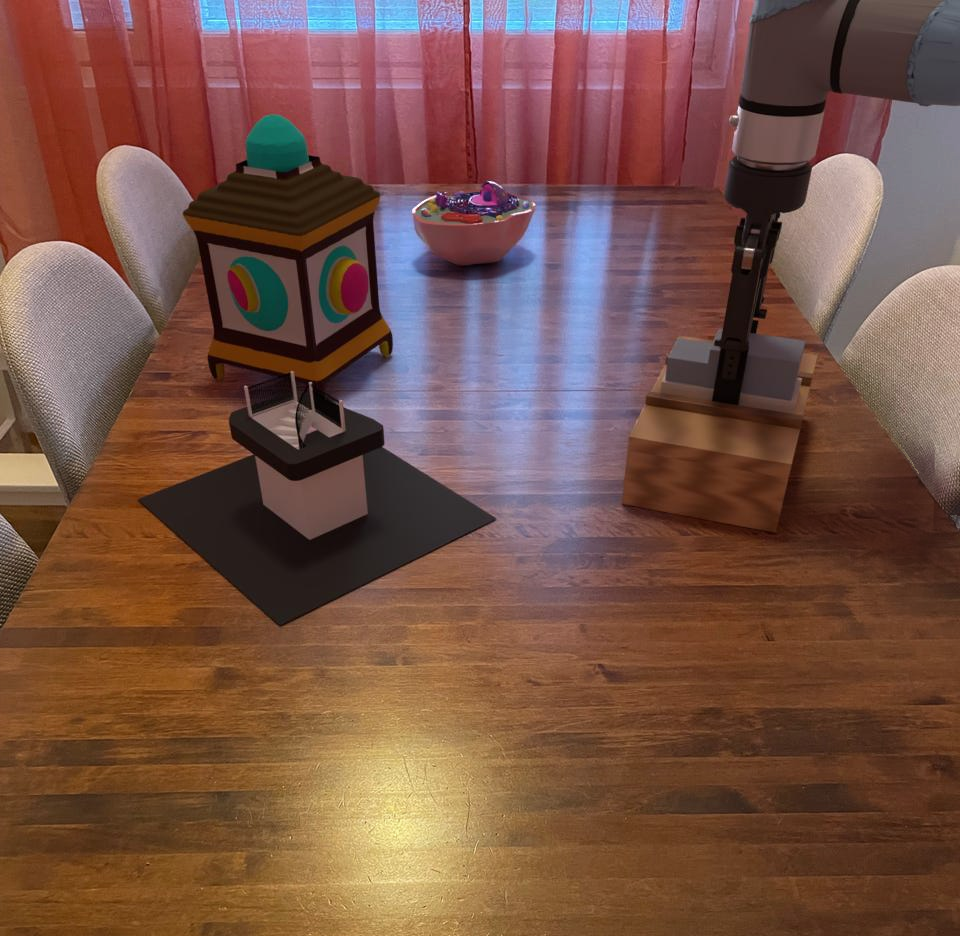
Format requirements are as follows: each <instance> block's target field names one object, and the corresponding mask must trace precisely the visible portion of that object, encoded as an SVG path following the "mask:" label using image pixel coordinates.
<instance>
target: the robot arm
mask: <svg viewBox="0 0 960 936" xmlns="http://www.w3.org/2000/svg"><path fill="white" fill-rule="evenodd" d="M748 24H749V29H748V36H747V43H746V49H745V57H744V66H743V72H742V78H741V79H742V80H741V86H740V94H739V97H738V98H739V99H738V107H737V114H732V115H730V118H729V119H728V124H729V126H730V127H732V128H736V130H735V131H734V132H733V139H732V145H731V151H732V153H733V155H735V156H733V157H732V158H731V159H730V160H729V161H728V167H727V173H726V180H725V186H724V188H725V189H724V194H723V197H724V200H725V202H726V203H727V204H728V205H730V206H731V207H733V208H735V209H738V210H739V209H741V210H742V211H743V212H745V214H746V216H745V217H741V218H740V221H739V225H737V226H736V229H735V233H734V234H735V235H734V239H733V244H734V246H735V247H734V250H733V251H734V252H733V258H732V263H731V269H730V272H731V279H730V285H729V291H728V296H727V303H726V307H725V313H724V319H723V325H722V329H723V331H722V336H721V339H720V340H717V339H716V340H715V342H714V346H717V347H720V348H721V349H720V355H719V361H718V367H717V373H716V379H715V385H714V391H713V397H712V401H714V402H721V403H727V404H733V405H738V404H739V399H740V393H741V388H742V383H743V377H744V372H745V367H746V361H747V356H748V351H749V341H748V340H749V335H750V333H754V334H757V332H758V327H759V322H760V321H759V320H757V319H760V320H761V319H762V320H766V317H767V314H768V309H766V308H761V307H762V305H763V304H764V303H765V297H764V295H765V291H766V286H767V285H766V284H767V281H768V280H767V279H768V273H769V269H770V265H771V264H772V263H773V261H774V256H775V251H776V247H777V244H778V242H779V239H780V235H781V232H782V227H783V221H779V219H780V218H781V214H787V213H788V214H789V213H792V212H795V211H797V210H799V209H801V208H802V207H803V206H804V205H805V203H806V200H807V196H808V191H809V185H810V181H811V177H812V172H813V171H812V170H813V166H812V165H811V163H810V161H811V160H812V159H814V157H816V154H817V149H818V146H819V140H820V135H821V131H822V126H823V121H824V116H825V111H826V109H825V108H826V102H827V97H828V94H829V93H830V92H831V93H835V94H842V95H843V94H846V95H852V96H853V95H855V96H859V97H860V96H862V97H869V98H876V99H882V100H891V101H896V102H897V101H898V102H904V103H912V104H916V105H918V106H920V107H926V108H927V107H930V106H946V107H947V106H948V107H960V0H754V2H753V7H752V10H751V15H750V16H749V20H748Z"/></svg>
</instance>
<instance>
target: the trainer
mask: <svg viewBox="0 0 960 936" xmlns="http://www.w3.org/2000/svg"><path fill="white" fill-rule="evenodd" d="M722 331H723V328H718V330H717V333H716V334H715V337H714V339H713V341H714V342H715V340H716V339H717V340H720V339H721V336H722ZM748 341H749V351H748V356H747V361H746V367H745V372H744V377H743V383H742V388H741V393H740V399H739V404H738V405H740V406H746V407H753V408H759V409H765V410H772V411H778V412H784V413H791V414H793V413H794V410H795V406H796V402H797V398H798V394H799V390H800V386H801V381H802V378H797V377H798V373H799V368H800V364H801V359H802V355H803V353H804V350H805V346H806V340H803V339H796V338H789V337H783V336H782V337H781V336H776V335H768V334H762V333H761V334H760V333H756V334H754V333H750V335H749V340H748ZM714 342H713V343H707V342H700V341H693V340H686V339H679V337H678V338H676V341H675V343H674V345H673V347H672V349H671V351H670V352H669V353H670V355H669V357H668V361H667V369H666V374H665V376H664V378H663V380H662V382H661V388H660V393H664V394H670V395H676V396H683V397H689V398H695V399H702V400H708V401H712V397H713V391H714V385H715V379H716V373H717V367H718V361H719V355H720V349H721V348H720V347H717V346H714Z"/></svg>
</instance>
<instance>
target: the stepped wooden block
mask: <svg viewBox="0 0 960 936" xmlns="http://www.w3.org/2000/svg"><path fill="white" fill-rule="evenodd" d="M678 338H679V339H686V340H693V341H700V342H707V343H713V342H714V339H713V340H712V339H707V338H706V339H705V338H699V337H692V336H684V335H679V337H678ZM670 353H671V352H667V354H666V356H665V361H664V362H665V363H664V366H663V368H662V370H661V372H660V373H659V376H658V378H657V380H656V382H655V383H654V386H653V388H652V390H648V392H647V394H646V395H645V401H644V406H643V408H642V410H641V411H640V414H639V416H638V417H637V420H636V421H635V423H634V426H633V428H632V429H631V431H630V433H629V435H628V441H627V451H626V458H625V459H626V461H625V469H624V478H623V486H622V487H623V488H622V496H621V504H622V505H626V506H632V507H637V508H641V509H646V510H647V509H648V510H653V511H658V512H663V513H668V514H672V515H673V514H674V515H678V516H684V517H688V518H695V519H700V520H704V521H710V522H715V523H721V524H727V525H732V526H737V527H743V528H749V529H753V530H758V531H763V532H769V533H773V534H774V533H776V532H777V529H778V524H779V520H780V516H781V513H782V508H783V504H784V500H785V496H786V491H787V487H788V483H789V478H790V474H791V470H792V466H793V461H794V457H795V453H796V449H797V444H798V440H799V436H800V432H801V428H802V424H803V420H804V416H805V412H806V407H807V403H808V398H809V394H810V390H811V386H812V382H813V377H814V373H815V370H816V365H817V359H818V354H812V353H806V352H803V355H802V359H801V364H800V368H799V373H798V377H797V378H802V381H801V386H800V390H799V394H798V398H797V402H796V406H795V410H794V413H793V414H791V413H784V412H778V411H772V410H765V409H759V408H753V407H746V406H740V405H733V404H727V403H721V402H714V401H708V400H702V399H695V398H689V397H683V396H676V395H670V394H664V393H660V388H661V382H662V380H663V378H664V376H665V374H666V369H667V361H668V357H669V355H670Z"/></svg>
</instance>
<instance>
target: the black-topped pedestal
mask: <svg viewBox="0 0 960 936" xmlns="http://www.w3.org/2000/svg"><path fill="white" fill-rule="evenodd" d="M287 375H288V377H289V375H290V378H289V379H288V378H287V379H286V376H287ZM284 376H285V379H284ZM282 377H283V378H282ZM243 389H244V395H245V402H246V406H244V407H242V408H239V409H236V410H233V411H232V412H230V414H229V417H228V424H229V425H228V426H229V430H230V435H231V436H230V437H231V439H232V440H233V441H234V442H236V443H237V444H239V445H240V446H241V447H243V448H244V449H245V450H247V451H248V452H250V453H251V454H250V455H248V456H246V457H244V458H240V459H238V460H235V461H233V462H231V463H228V464H225V465H222V466H220V467H217V468H214V469H212V470H209V471H207V472H204V473H201V474H199V475H197V476H194V477H191V478H188V479H186V480H183V481H180V482H178V483H175V484H173V485H171V486H168V487H165V488H163V489H160V490H157V491H154V492H152V493H150V494H148V495H144V496H142V497H139V498H137V500H138V501H139V502H140V504H142V505H143V506H144V507H145V508H147V509H148V511H150V512H151V513H153V514H154V515H155V517H157V518H158V519H159V520H160V521H161V522H163V523H164V525H166V526H167V527H168V528H169V529H170V530H171V531H173V532H174V533H175V534H176V535H177V536H178V537H180V539H181V540H183V541H184V542H185V543H186V544H187V545H189V546H190V547H191V548H192V549H193V550H194V552H196V553H198V554H199V555H200V556H201V557H202V558H203V559H204V560H206V562H208V563H209V564H210V565H211V566H213V567H214V569H215V570H217V571H218V572H219V573H220V574H221V575H222V576H223V577H225V578H226V579H227V580H228V581H229V582H230V583H232V585H233V586H234V587H236V588H237V589H238V590H239V591H240V592H241V593H243V594H244V595H245V596H246V597H247V598H249V600H250V601H251V602H253V603H254V604H255V605H256V606H257V607H259V608H260V610H262V612H264V613H265V614H267V616H269V617H270V618H271V619H272V620H273V621H274V622H275V623H276V624H278V625H279V626H282V625H283V624H286V623H288V622H290V621H291V620H292V621H293V620H294V619H296V618H299V617H300V616H302V615H304V614H307V613H308V612H311V611H313V610H314V609H316V608H319V607H320V606H322V605H324V604H326V603H328V602H330V601H332V600H335V599H337V598H339V597H341V596H343V595H345V594H347V593H349V592H351V591H353V590H355V589H357V588H359V587H361V586H363V585H365V584H367V583H369V582H371V581H373V580H375V579H377V578H379V577H381V576H383V575H385V574H387V573H389V572H392V571H394V570H395V569H398V568H400V567H402V566H404V565H405V564H407V563H409V562H411V561H413V560H416V559H418V558H420V557H422V556H424V555H426V554H428V553H429V552H432V551H434V550H435V549H438V548H440V547H442V546H444V545H446V544H448V543H450V542H452V541H454V540H457V539H459V538H460V537H462V536H464V535H466V534H468V533H470V532H472V531H475V530H476V529H478V528H480V527H482V526H484V525H487V524H489V523H491V522H493V521H495V520H496V519H498V518H497V517H495V516H493V515H492V514H491V513H489V512H488V511H486V510H484V509H483V508H482V507H479V506H478V505H477V504H474V503H473V502H472V501H470V500H469V499H467V498H465V497H463V496H462V495H461V494H459V493H458V492H455V491H454V490H453V489H451V488H449V487H447V486H446V485H444V484H443V483H441V482H439V481H438V480H436V479H434V478H432V477H431V476H429V475H428V474H426V473H425V472H423V471H422V470H421V469H419V468H417V467H415V466H414V465H412V464H410V463H409V462H407V461H406V460H404V459H402V458H401V457H399V456H398V455H396V454H394V453H393V452H391V451H390V450H388V449H387V448H385V447H384V446H385V443H386V442H385V428H384V424H382V423H380V422H379V421H377V420H375V419H374V418H372V417H369V416H367V415H365V414H362V413H360V412H357V411H354V410H352V409H350V408H347V407H345V406H344V401H343V400H342V399H337V398H336V397H334V396H332V395H330V394H329V393H328V392H324V391H322V390H321V389H319V388H317V387H316V386H314V385H312V382H309V384H308V385H306V387H305V389H304V390H303V391H302V390H297V385H296V381H295V377H294V372H293V371H291V372H290V373H287V374H284V375H282V376H279V377H273V378H270V379H267V380H264V381H262V382H259V383H255V384H253V385H249V386H248V385H244V386H243ZM313 389H317V390H318V391H317V392H315V391H314V390H313ZM308 391H309V392H308ZM317 393H318V394H317ZM323 393H324V394H325V396H322V395H320V394H323ZM315 394H316V395H315ZM324 398H325V399H324ZM311 427H312V428H314V429H315V430H314V431H310V432H309V430H310V429H311Z"/></svg>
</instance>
